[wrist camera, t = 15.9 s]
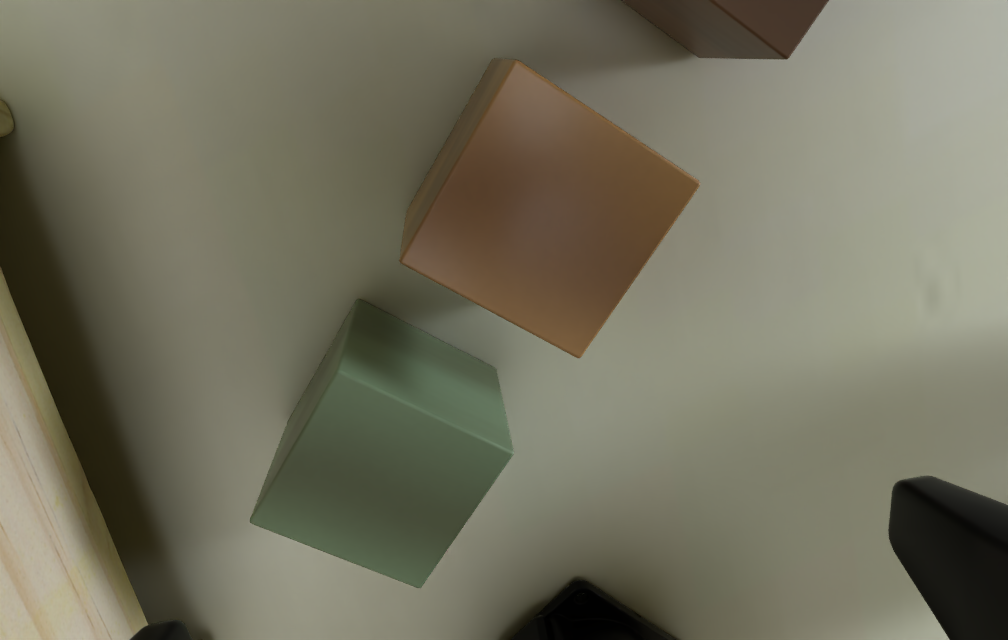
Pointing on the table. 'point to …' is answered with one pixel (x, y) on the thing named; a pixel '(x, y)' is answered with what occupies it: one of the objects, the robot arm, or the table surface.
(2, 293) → the toy sofa
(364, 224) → the table surface
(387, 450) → the block line
